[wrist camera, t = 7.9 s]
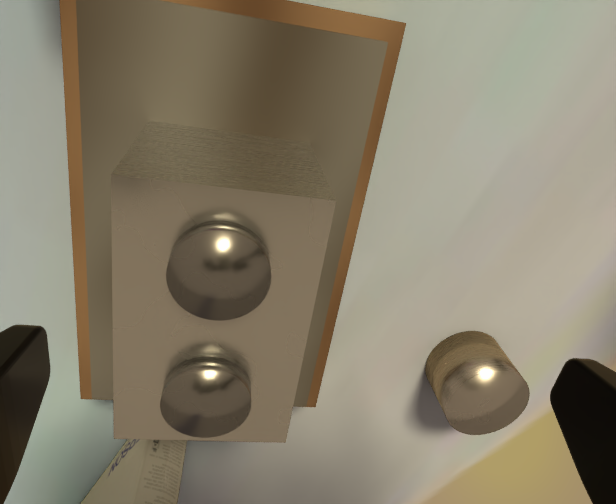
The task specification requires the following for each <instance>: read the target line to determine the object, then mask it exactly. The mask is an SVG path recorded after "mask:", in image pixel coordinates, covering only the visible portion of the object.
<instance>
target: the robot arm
mask: <svg viewBox="0 0 616 504" xmlns="http://www.w3.org/2000/svg"><path fill="white" fill-rule="evenodd" d="M49 377H50V360H49V351H48V342H47V334H46V331H45V329H44V328H43V327H41V326H34V325H13V326H11V327H9V328H7V329H6V330H4V331H2V332H0V504H4V501H5V499H6V497H7V495H8V493H9V491H10V489H11V486H12V484H13V482H14V479H15V477H16V475H17V472H18V469H19V467H20V464H21V461H22V458H23V455H24V452H25V449H26V447H27V444H28V441H29V438H30V435H31V432H32V429H33V426H34V423H35V420H36V417H37V414H38V411H39V408H40V405H41V402H42V399H43V396H44V394H45V391H46V388H47V385H48V381H49ZM550 401H551V405H552V408H553V410H554V413H555V415H556V418H557V420H558V423H559V425H560V428H561V430H562V433H563V436H564V438H565V441H566V443H567V445H568V448H569V450H570V453H571V456H572V458H573V460H574V463H575V466H576V468H577V471H578V473H579V475H580V477H581V480H582V482H583V484H584V487H585V489H586V490H587V493H588V495H589V497H590V499H591V501H592V503H593V504H616V372H614V371H613V370H611V369H609V368H607V367H605V366H604V365H602V364H600V363H598V362H597V361H594V360H591V359H579V358H573V359H570V360H568V361H567V362H566V363H565V365H564V366H563V368H562V370H561V372H560V374H559V376H558V378H557V380H556V382H555V384H554V386H553V388H552V390H551V394H550Z"/></svg>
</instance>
